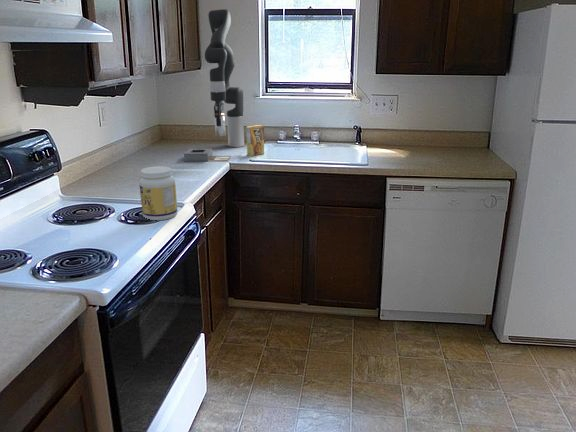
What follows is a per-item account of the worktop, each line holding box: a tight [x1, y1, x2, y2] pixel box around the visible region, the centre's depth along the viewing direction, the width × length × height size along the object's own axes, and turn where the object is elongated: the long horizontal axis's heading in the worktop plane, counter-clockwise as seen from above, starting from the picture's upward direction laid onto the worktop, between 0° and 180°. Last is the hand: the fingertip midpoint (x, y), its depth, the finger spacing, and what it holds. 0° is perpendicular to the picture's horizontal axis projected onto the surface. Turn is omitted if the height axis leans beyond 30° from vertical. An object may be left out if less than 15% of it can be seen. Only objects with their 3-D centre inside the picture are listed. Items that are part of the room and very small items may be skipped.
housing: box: [183, 148, 213, 161], centre depth 267 cm, size 12×12×4 cm
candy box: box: [245, 124, 265, 157], centre depth 277 cm, size 9×4×15 cm, turn 129°
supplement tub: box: [138, 165, 179, 221], centre depth 182 cm, size 12×12×17 cm
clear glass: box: [213, 112, 227, 137], centre depth 261 cm, size 5×5×11 cm
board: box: [183, 155, 232, 163], centre depth 267 cm, size 13×22×1 cm, turn 87°
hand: (219, 125), depth 261 cm, fingers closed on clear glass, 5 cm apart
